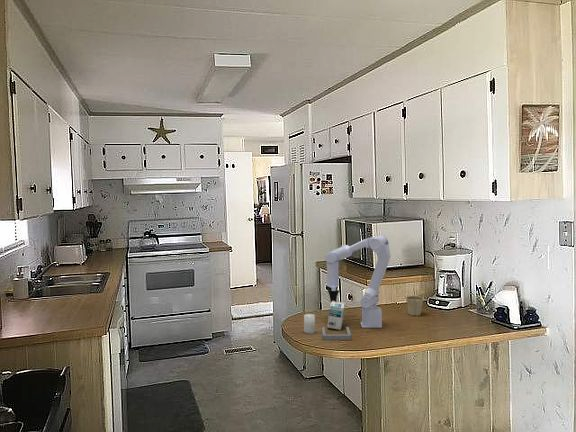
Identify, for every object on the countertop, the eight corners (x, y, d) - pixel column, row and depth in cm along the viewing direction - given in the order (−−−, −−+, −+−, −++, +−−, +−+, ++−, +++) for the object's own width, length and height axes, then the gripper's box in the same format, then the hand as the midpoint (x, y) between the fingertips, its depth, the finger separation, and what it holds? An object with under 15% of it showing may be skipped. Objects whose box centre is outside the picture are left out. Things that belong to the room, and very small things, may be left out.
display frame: (348, 331, 236) (348, 327, 235) (351, 340, 223) (351, 335, 223) (322, 331, 236) (322, 327, 236) (322, 340, 223) (322, 335, 223)
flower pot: (426, 313, 265) (426, 297, 264) (420, 317, 257) (421, 301, 256) (409, 311, 270) (409, 295, 269) (403, 315, 262) (403, 298, 261)
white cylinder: (314, 330, 238) (314, 313, 237) (315, 333, 233) (314, 316, 232) (304, 330, 238) (304, 313, 237) (304, 333, 233) (304, 316, 232)
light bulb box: (340, 330, 237) (344, 308, 236) (326, 327, 238) (329, 305, 237) (342, 324, 247) (345, 302, 246) (328, 321, 248) (332, 300, 247)
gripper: (324, 272, 259) (324, 298, 260) (325, 278, 245) (325, 305, 246) (337, 272, 259) (338, 298, 260) (339, 278, 245) (340, 305, 246)
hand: (332, 302), depth 253 cm, fingers open, 7 cm apart
